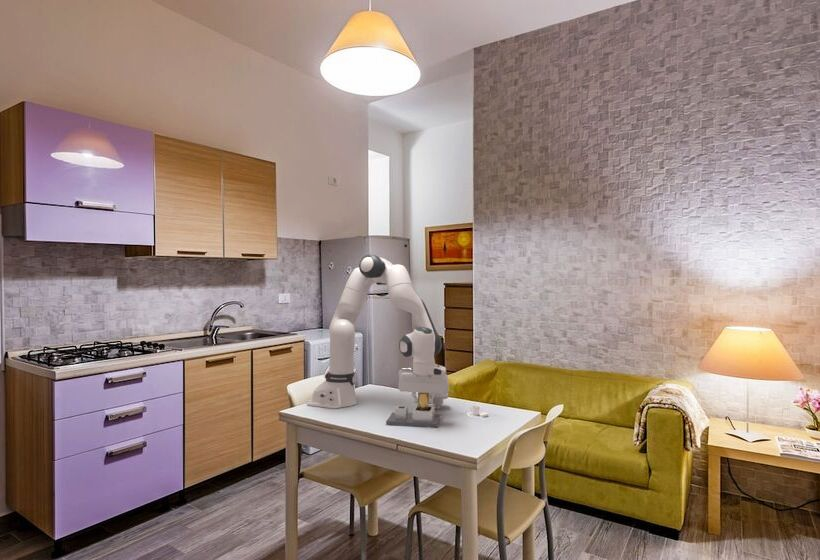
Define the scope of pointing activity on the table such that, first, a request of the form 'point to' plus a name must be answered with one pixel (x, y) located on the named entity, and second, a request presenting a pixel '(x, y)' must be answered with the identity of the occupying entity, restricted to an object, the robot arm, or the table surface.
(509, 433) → the table surface
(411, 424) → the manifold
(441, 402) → the showerhead
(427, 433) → the table surface
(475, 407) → the teacup and saucer
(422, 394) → the cylinder
